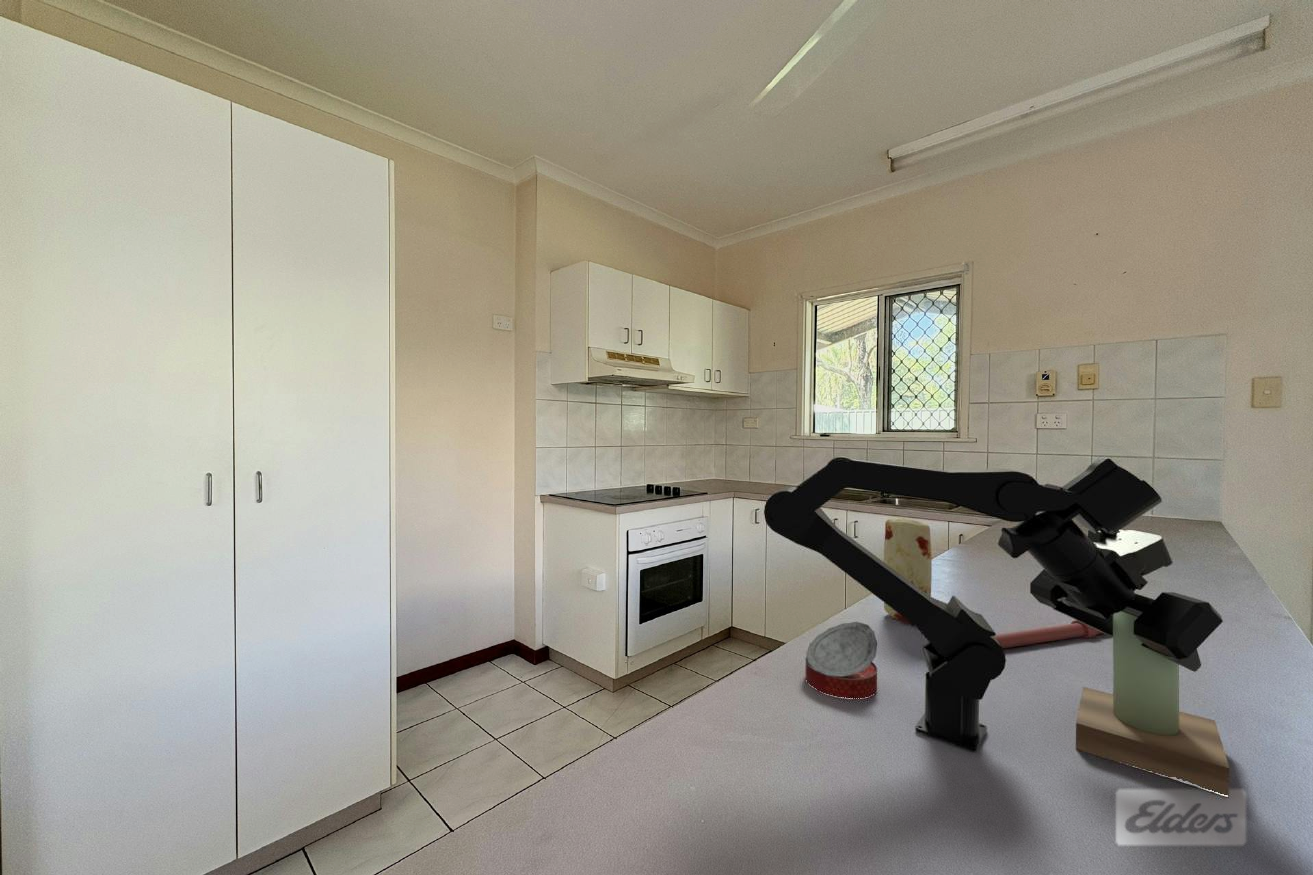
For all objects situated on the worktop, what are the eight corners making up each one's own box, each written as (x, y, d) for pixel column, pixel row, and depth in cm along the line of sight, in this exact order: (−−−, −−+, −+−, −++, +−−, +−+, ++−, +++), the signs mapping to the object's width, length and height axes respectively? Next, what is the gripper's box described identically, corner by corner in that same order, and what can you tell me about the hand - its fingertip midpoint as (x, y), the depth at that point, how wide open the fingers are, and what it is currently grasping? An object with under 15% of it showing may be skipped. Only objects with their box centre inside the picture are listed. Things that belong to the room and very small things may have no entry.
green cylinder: (1181, 740, 57) (1180, 621, 57) (1112, 722, 61) (1112, 610, 61) (1177, 719, 61) (1177, 608, 61) (1113, 703, 65) (1113, 598, 65)
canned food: (876, 729, 73) (892, 682, 68) (801, 712, 75) (812, 666, 70) (867, 661, 82) (881, 616, 77) (801, 648, 84) (810, 603, 79)
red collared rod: (1135, 625, 102) (1135, 609, 102) (1154, 631, 99) (1155, 614, 99) (956, 652, 88) (956, 633, 88) (973, 659, 85) (973, 640, 85)
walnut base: (1229, 797, 52) (1229, 768, 52) (1075, 748, 60) (1076, 722, 60) (1214, 745, 61) (1214, 720, 61) (1082, 709, 69) (1082, 686, 69)
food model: (874, 615, 105) (875, 515, 105) (896, 610, 108) (898, 513, 108) (918, 632, 96) (920, 523, 96) (941, 626, 99) (943, 520, 99)
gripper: (1206, 521, 51) (1309, 633, 52) (1052, 498, 70) (1130, 580, 70) (1128, 602, 51) (1232, 714, 52) (994, 557, 70) (1072, 639, 70)
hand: (1158, 652), depth 61 cm, fingers open, 8 cm apart
